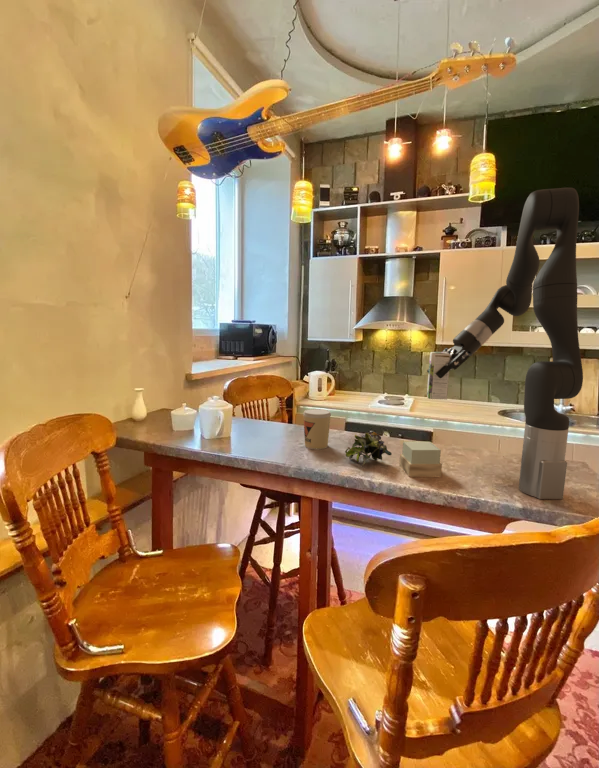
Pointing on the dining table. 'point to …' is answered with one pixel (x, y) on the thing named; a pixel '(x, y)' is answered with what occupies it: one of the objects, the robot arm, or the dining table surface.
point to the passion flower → (368, 447)
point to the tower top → (421, 453)
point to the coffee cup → (316, 428)
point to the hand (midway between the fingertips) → (433, 374)
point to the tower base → (420, 468)
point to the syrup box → (435, 384)
